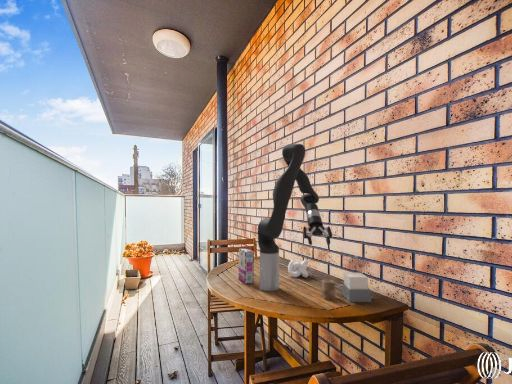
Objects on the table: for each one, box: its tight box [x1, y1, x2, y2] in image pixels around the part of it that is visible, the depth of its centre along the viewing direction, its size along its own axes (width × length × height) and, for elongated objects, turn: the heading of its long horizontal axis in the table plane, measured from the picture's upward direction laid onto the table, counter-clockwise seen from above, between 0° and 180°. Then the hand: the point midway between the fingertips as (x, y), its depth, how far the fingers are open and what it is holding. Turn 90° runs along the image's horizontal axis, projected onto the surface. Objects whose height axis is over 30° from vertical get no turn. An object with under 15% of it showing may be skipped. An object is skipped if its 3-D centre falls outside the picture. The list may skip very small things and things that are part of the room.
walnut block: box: [321, 279, 336, 301], centre depth 108 cm, size 4×4×7 cm
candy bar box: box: [238, 248, 255, 285], centre depth 133 cm, size 11×5×16 cm, turn 22°
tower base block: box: [341, 283, 372, 303], centre depth 107 cm, size 9×9×5 cm
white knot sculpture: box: [287, 258, 309, 278], centre depth 142 cm, size 11×12×9 cm
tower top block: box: [343, 272, 369, 290], centre depth 108 cm, size 8×8×5 cm
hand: (319, 244), depth 123 cm, fingers open, 8 cm apart
